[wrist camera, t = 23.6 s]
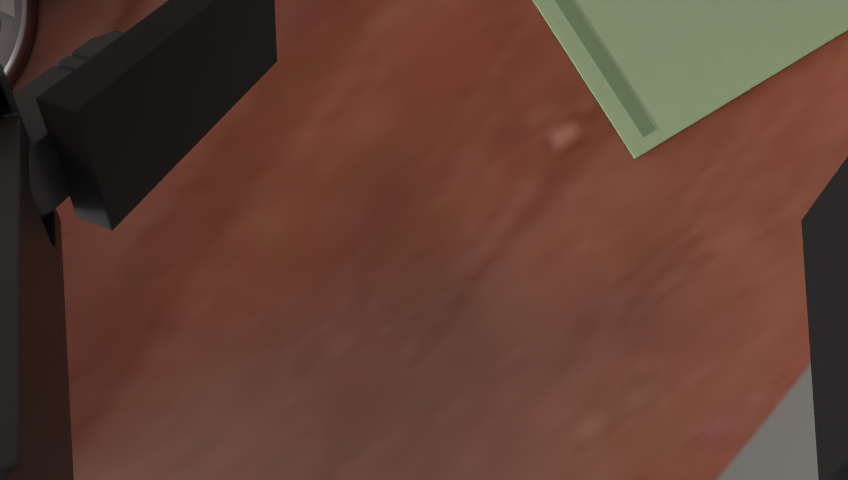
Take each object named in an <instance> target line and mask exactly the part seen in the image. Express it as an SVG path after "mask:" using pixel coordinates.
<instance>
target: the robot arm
mask: <svg viewBox="0 0 848 480" xmlns="http://www.w3.org/2000/svg"><path fill="white" fill-rule="evenodd" d="M36 19H37V3H36V0H0V480H74V479H73V459H72V439H71V419H70V399H69V379H68V360H67V340H66V320H65V300H64V280H63V260H62V240H61V221H60V218H59V215H58V213H57V210H56V207H57V206H59V205H60V204H61V203H62V202H63V201H64V200H65V199H66V198H67V197H68V196H69V195H70V198H71V201H72V204H73V206H74V209H75V212H76V215H77V218H79V219H82V220H85V221H87V222H90V223H93V224H96V225H99V226H101V227H104V228H107V229H110V230H113V229H114V228H115V227H116V226H117V225H118V224H119V223H120V222H121V221H122V220H123V219H124V218H125V217H126V216H127V215H128V214H129V213H130V212H131V211H132V210H133V209H134V208H135V207H136V206H137V205H138V204H139V203H140V202H141V200H142V199H143V198H144V197H145V196H146V195H147V194H148V193H149V192H150V191H151V190H152V189H153V188H154V187H155V186H156V185H157V184H158V183H159V182H160V181H161V180H162V179H163V178H164V177H165V176H166V175H167V174H168V173H169V172H170V171H171V170H172V169H173V168H174V167H175V166H176V164H177V163H178V162H179V161H180V160H181V159H182V158H183V157H184V156H185V155H186V154H187V153H188V152H189V151H190V150H191V149H192V148H193V147H194V146H195V145H196V144H197V143H198V142H199V141H200V140H201V139H202V138H203V137H204V136H205V135H206V134H207V133H208V132H209V131H210V130H211V128H212V127H213V126H214V125H215V124H216V123H217V122H218V121H219V120H220V119H221V118H222V117H223V116H224V115H225V114H226V113H227V112H228V111H229V110H230V109H231V108H232V107H233V106H234V105H235V104H236V103H237V102H238V101H239V100H240V99H241V98H242V97H243V96H244V95H245V94H246V92H247V91H248V90H249V89H250V88H251V87H252V86H253V85H254V84H255V83H256V82H257V81H258V80H259V79H260V78H261V77H262V76H263V75H264V74H265V73H266V72H267V71H268V70H269V69H270V68H271V67H272V66H273V65H274V64H275V63H276V62H277V49H276V27H275V4H274V0H169V1H167V2H166V3H165V4H163V5H162V6H160V7H159V8H158V9H156V10H155V11H154V12H152V13H151V14H150V15H148V16H147V17H145V18H144V19H143V20H141V21H140V22H139V23H137V24H136V25H135V26H133V27H132V28H131V29H129V30H128V31H126V32H125V33H121V32H117V31H114V32H111V33H108V34H105V35H102V36H100V37H97V38H94V39H91V40H89V41H88V42H87V43H85V44H84V45H82V46H81V47H79V48H78V49H77V50H75V51H74V52H72V56H69V55H68V56H67V57H65V58H64V59H63V60H61V61H60V62H58V63H57V66H56V67H55V66H53V67H51V68H50V69H48V70H47V71H46V72H44V73H43V74H41V75H40V76H39V77H37V78H36V79H34V80H33V81H32V82H30V83H29V84H27V85H26V86H24V87H23V88H22V89H20V90H19V91H17V92H16V93H15V94H13V93H12V91H11V87H12V85H13V84H14V83H15V81H16V80H17V78H18V76H19V75H20V73H21V71H22V69H23V67H24V65H25V63H26V61H27V58H28V56H29V53H30V50H31V47H32V43H33V40H34V34H35V29H36ZM801 221H802V236H803V251H804V266H805V281H806V296H807V311H808V326H809V341H810V356H811V371H812V385H813V401H814V415H815V431H816V446H817V461H818V476H819V480H848V157H847V158H846V160H845V161H844V162H843V164H842V165H841V167H840V168H839V169H838V171H837V172H836V173H835V175H834V176H833V178H832V179H831V180H830V182H829V183H828V185H827V186H826V187H825V189H824V190H823V191H822V193H821V194H820V196H819V197H818V198H817V200H816V201H815V202H814V204H813V205H812V207H811V208H810V209H809V211H808V212H807V214H806V215H805V216H804V218H803V219H802V220H801Z"/></svg>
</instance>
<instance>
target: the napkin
mask: <svg viewBox="0 0 848 480" xmlns="http://www.w3.org/2000/svg"><path fill="white" fill-rule="evenodd" d="M533 2H534V3H535V5H536V6H537V8H538V10H539V11H540V13H541V14H542V16H543V17H544V19H545V20H546V22H547V24H548V25H549V27H550V28H551V30H552V31H553V33H554V35H555V36H556V38H557V39H558V41H559V42H560V44H561V45H562V47H563V49H564V50H565V52H566V53H567V55H568V56H569V58H570V59H571V61H572V63H573V64H574V66H575V67H576V69H577V70H578V72H579V73H580V75H581V77H582V78H583V80H584V81H585V83H586V84H587V86H588V87H589V89H590V91H591V92H592V94H593V95H594V97H595V98H596V100H597V101H598V103H599V105H600V106H601V108H602V109H603V111H604V112H605V114H606V115H607V117H608V119H609V120H610V122H611V123H612V125H613V126H614V128H615V129H616V131H617V133H618V134H619V136H620V137H621V139H622V140H623V142H624V143H625V145H626V147H627V148H628V150H629V151H630V153H631V154H632V156H633V157H634V159H636V158H637V157H639V156H641V155H642V154H644V153H646V152H647V151H649V150H651V149H652V148H654V147H656V146H657V145H659V144H661V143H662V142H664V141H665V140H667V139H669V138H670V137H672V136H674V135H675V134H677V133H679V132H680V131H682V130H684V129H685V128H687V127H689V126H690V125H692V124H694V123H695V122H697V121H698V120H700V119H702V118H703V117H705V116H707V115H708V114H710V113H712V112H713V111H715V110H717V109H718V108H720V107H722V106H723V105H725V104H727V103H728V102H730V101H731V100H733V99H735V98H736V97H738V96H740V95H741V94H743V93H745V92H746V91H748V90H750V89H751V88H753V87H755V86H756V85H758V84H760V83H761V82H763V81H765V80H766V79H768V78H769V77H771V76H773V75H774V74H776V73H778V72H779V71H781V70H783V69H784V68H786V67H788V66H789V65H791V64H793V63H794V62H796V61H798V60H799V59H801V58H802V57H804V56H806V55H807V54H809V53H811V52H812V51H814V50H816V49H817V48H819V47H821V46H822V45H824V44H826V43H827V42H829V41H831V40H832V39H834V38H835V37H837V36H839V35H840V34H842V33H844V32H845V31H847V30H848V0H533Z"/></svg>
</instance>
